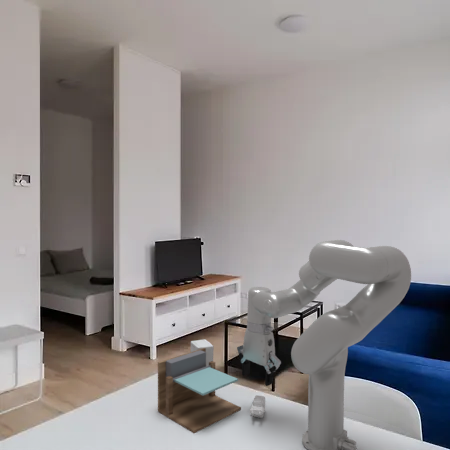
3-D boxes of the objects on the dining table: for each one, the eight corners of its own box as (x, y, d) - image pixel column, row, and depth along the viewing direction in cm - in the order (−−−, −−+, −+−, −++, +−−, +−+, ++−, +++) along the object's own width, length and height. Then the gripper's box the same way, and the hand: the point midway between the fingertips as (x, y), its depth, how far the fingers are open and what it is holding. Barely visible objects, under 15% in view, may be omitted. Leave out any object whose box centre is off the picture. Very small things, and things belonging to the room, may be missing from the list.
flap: (239, 382, 128) (239, 363, 128) (201, 398, 117) (201, 378, 117) (201, 366, 141) (201, 349, 141) (163, 379, 130) (163, 361, 130)
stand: (240, 409, 131) (241, 361, 130) (194, 433, 117) (194, 378, 116) (204, 392, 143) (204, 348, 143) (157, 411, 129) (157, 362, 129)
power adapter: (261, 426, 120) (261, 409, 120) (247, 424, 121) (247, 408, 121) (267, 411, 130) (267, 395, 130) (254, 409, 131) (254, 394, 131)
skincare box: (189, 381, 153) (189, 340, 153) (205, 378, 156) (205, 338, 155) (197, 390, 145) (197, 347, 145) (214, 386, 148) (214, 345, 148)
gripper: (288, 330, 124) (286, 385, 125) (246, 318, 136) (245, 368, 137) (273, 336, 119) (271, 392, 119) (231, 322, 131) (229, 374, 132)
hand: (257, 379), depth 128 cm, fingers open, 9 cm apart
